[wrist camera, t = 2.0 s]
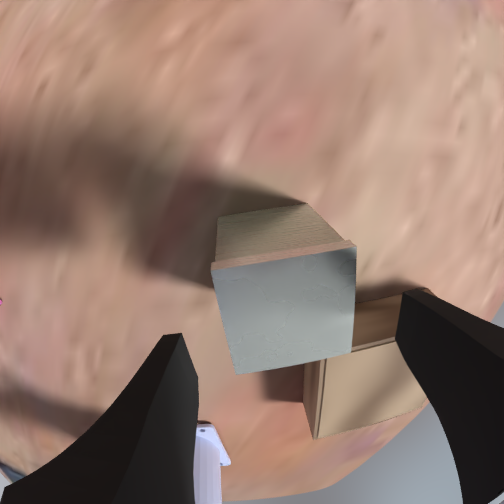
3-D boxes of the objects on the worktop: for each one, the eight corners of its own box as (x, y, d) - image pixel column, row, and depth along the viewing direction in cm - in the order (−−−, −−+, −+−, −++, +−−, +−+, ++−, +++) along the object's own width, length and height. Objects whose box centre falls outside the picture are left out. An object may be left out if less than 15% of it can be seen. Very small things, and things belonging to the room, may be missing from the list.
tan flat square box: (302, 399, 21) (313, 441, 18) (303, 309, 18) (321, 354, 14) (402, 374, 22) (422, 408, 18) (425, 285, 18) (458, 318, 14)
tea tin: (231, 295, 17) (235, 374, 11) (215, 214, 15) (210, 270, 9) (314, 281, 17) (351, 352, 11) (309, 201, 15) (356, 246, 9)
